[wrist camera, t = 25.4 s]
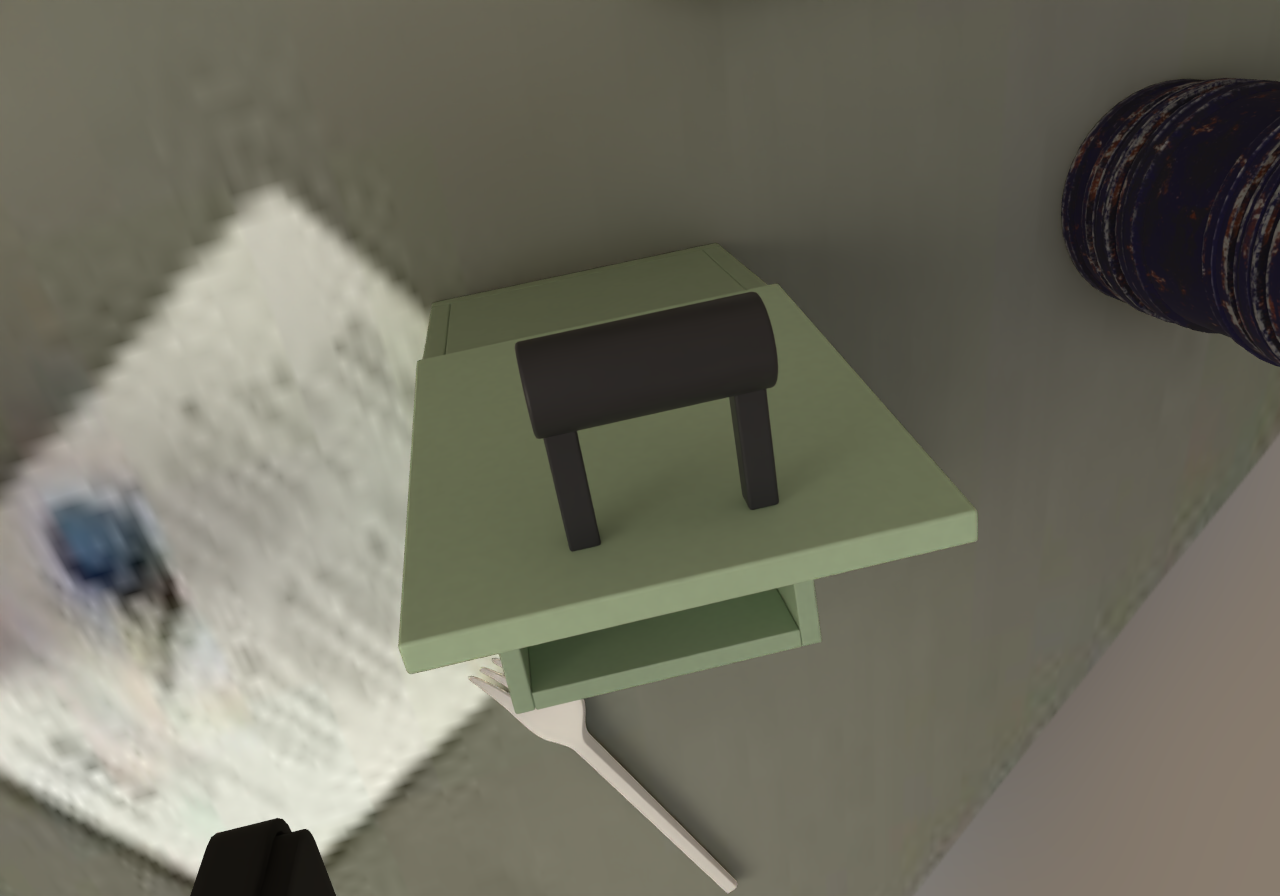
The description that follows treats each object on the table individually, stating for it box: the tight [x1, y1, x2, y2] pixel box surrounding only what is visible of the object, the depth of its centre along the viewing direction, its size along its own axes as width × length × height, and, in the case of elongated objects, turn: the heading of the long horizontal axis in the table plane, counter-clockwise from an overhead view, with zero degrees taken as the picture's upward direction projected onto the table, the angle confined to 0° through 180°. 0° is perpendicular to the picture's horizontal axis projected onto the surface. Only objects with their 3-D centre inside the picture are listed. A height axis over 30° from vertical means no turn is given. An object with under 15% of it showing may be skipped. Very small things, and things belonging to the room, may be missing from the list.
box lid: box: [398, 284, 978, 674], centre depth 27 cm, size 15×12×6 cm
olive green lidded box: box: [423, 243, 822, 714], centre depth 42 cm, size 14×12×9 cm
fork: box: [468, 658, 737, 893], centre depth 52 cm, size 3×20×2 cm, turn 38°
